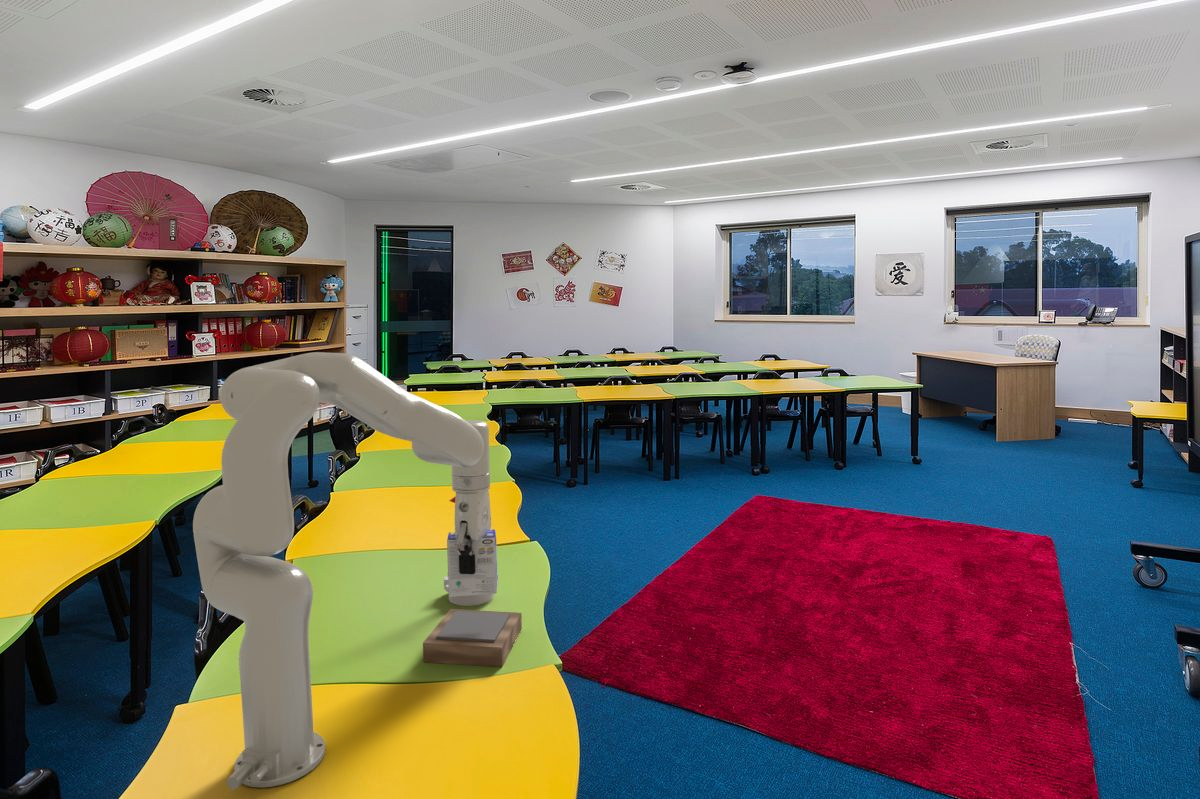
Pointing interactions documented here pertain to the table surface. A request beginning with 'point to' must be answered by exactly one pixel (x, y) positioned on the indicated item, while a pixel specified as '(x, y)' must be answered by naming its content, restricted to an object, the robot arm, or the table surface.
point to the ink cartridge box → (484, 567)
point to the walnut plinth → (473, 638)
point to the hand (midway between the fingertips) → (472, 566)
